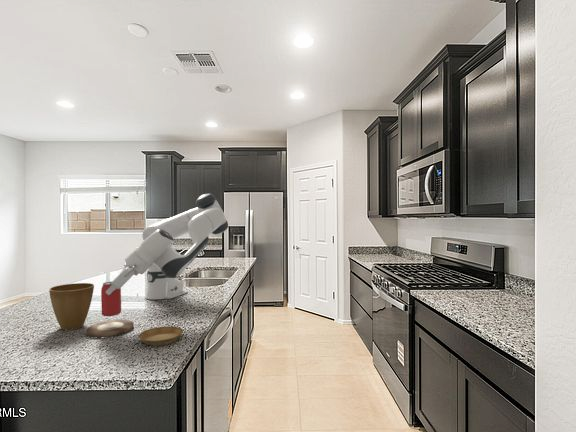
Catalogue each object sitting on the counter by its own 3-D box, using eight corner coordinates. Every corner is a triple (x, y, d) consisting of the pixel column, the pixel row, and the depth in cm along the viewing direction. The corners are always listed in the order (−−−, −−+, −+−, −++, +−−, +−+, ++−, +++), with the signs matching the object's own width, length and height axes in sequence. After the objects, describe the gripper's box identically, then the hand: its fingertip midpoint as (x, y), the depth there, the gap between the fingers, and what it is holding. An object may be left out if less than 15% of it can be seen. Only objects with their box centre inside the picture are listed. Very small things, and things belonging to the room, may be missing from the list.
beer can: (125, 312, 128) (124, 281, 128) (110, 317, 122) (110, 285, 122) (112, 311, 131) (111, 280, 131) (97, 316, 125) (96, 284, 125)
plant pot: (46, 336, 121) (45, 292, 121) (53, 324, 134) (52, 285, 134) (93, 329, 128) (93, 287, 128) (95, 318, 141) (95, 281, 141)
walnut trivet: (117, 321, 138) (117, 317, 138) (142, 327, 130) (142, 323, 129) (77, 333, 124) (77, 328, 124) (101, 341, 116) (101, 336, 116)
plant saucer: (168, 330, 127) (168, 323, 127) (192, 338, 118) (191, 331, 118) (130, 342, 115) (130, 334, 115) (153, 352, 106) (152, 344, 106)
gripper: (140, 273, 120) (111, 303, 117) (145, 265, 140) (120, 290, 137) (126, 261, 119) (96, 291, 116) (133, 255, 138) (107, 280, 135)
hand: (109, 291), depth 126 cm, fingers closed on beer can, 7 cm apart
